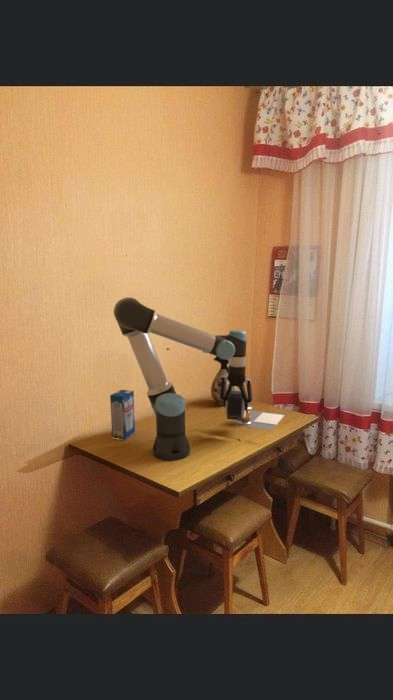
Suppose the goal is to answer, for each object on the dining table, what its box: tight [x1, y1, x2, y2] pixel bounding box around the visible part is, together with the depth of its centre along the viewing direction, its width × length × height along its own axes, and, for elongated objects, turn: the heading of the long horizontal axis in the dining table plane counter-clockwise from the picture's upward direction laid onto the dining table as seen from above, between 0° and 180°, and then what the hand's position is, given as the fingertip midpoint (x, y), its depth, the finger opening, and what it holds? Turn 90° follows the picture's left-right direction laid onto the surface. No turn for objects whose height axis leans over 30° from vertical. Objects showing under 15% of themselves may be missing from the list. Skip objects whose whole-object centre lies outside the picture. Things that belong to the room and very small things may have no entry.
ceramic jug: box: [210, 356, 239, 407], centre depth 238 cm, size 17×15×30 cm
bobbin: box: [238, 404, 253, 425], centre depth 204 cm, size 7×7×8 cm
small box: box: [226, 390, 244, 421], centre depth 191 cm, size 11×6×10 cm, turn 168°
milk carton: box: [109, 389, 136, 440], centre depth 192 cm, size 10×6×20 cm, turn 160°
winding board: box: [232, 410, 286, 431], centre depth 210 cm, size 19×24×2 cm
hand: (235, 415), depth 192 cm, fingers closed on small box, 7 cm apart
